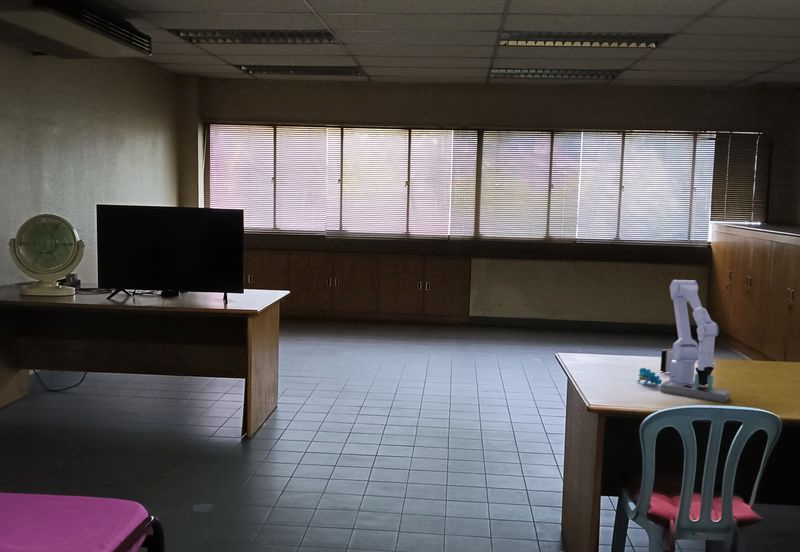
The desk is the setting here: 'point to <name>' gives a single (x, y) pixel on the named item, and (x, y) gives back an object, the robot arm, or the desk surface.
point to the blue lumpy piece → (649, 376)
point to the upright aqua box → (709, 380)
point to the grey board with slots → (695, 391)
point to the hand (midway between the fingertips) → (703, 384)
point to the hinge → (666, 360)
